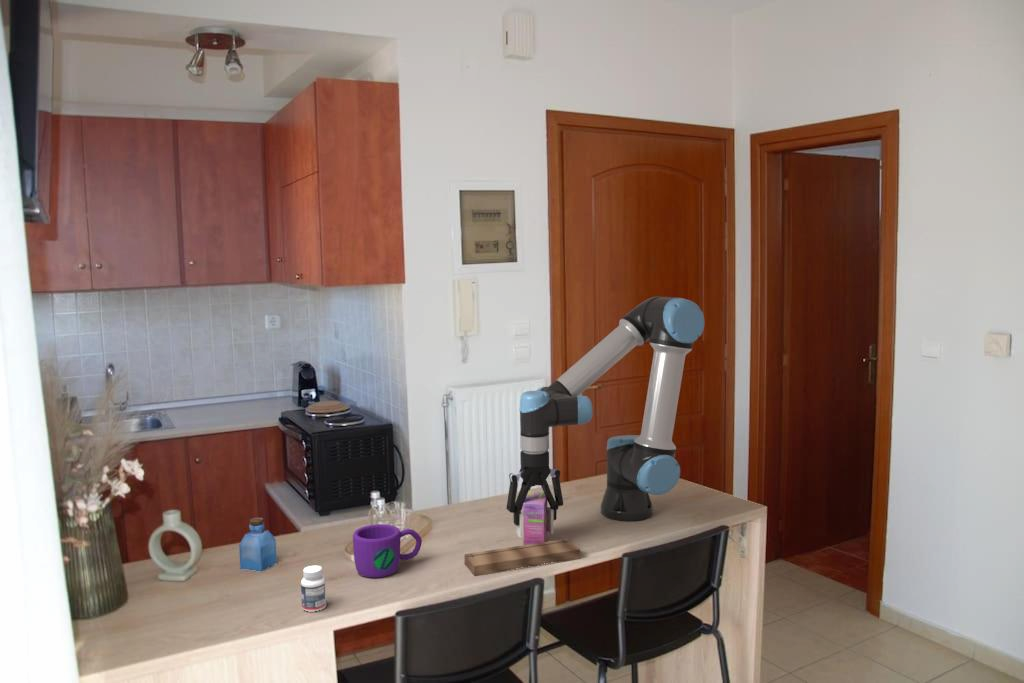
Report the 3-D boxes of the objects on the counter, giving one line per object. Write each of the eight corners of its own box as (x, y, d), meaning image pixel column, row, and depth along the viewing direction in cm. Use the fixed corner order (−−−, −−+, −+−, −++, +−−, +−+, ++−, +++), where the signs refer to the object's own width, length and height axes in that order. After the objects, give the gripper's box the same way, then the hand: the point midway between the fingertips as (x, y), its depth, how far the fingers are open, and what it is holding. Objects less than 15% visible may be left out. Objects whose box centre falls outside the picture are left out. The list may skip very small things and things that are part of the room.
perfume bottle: (276, 562, 201) (274, 516, 199) (261, 572, 195) (259, 525, 194) (256, 560, 203) (253, 514, 201) (240, 569, 197) (237, 522, 196)
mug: (362, 584, 187) (361, 543, 186) (348, 567, 197) (346, 528, 196) (431, 569, 196) (430, 529, 195) (413, 554, 206) (412, 516, 204)
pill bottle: (304, 602, 178) (302, 564, 177) (327, 601, 178) (326, 563, 177) (300, 613, 173) (298, 574, 172) (324, 612, 173) (322, 572, 172)
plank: (566, 547, 209) (566, 538, 208) (580, 558, 201) (580, 548, 201) (464, 563, 199) (464, 553, 198) (474, 576, 191) (474, 565, 191)
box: (544, 548, 207) (544, 504, 205) (523, 547, 207) (522, 503, 206) (548, 534, 217) (547, 492, 215) (527, 533, 218) (526, 491, 216)
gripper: (564, 443, 216) (565, 524, 218) (492, 451, 208) (493, 535, 211) (576, 449, 209) (576, 533, 211) (502, 457, 201) (503, 544, 204)
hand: (535, 534), depth 211 cm, fingers closed on box, 8 cm apart
